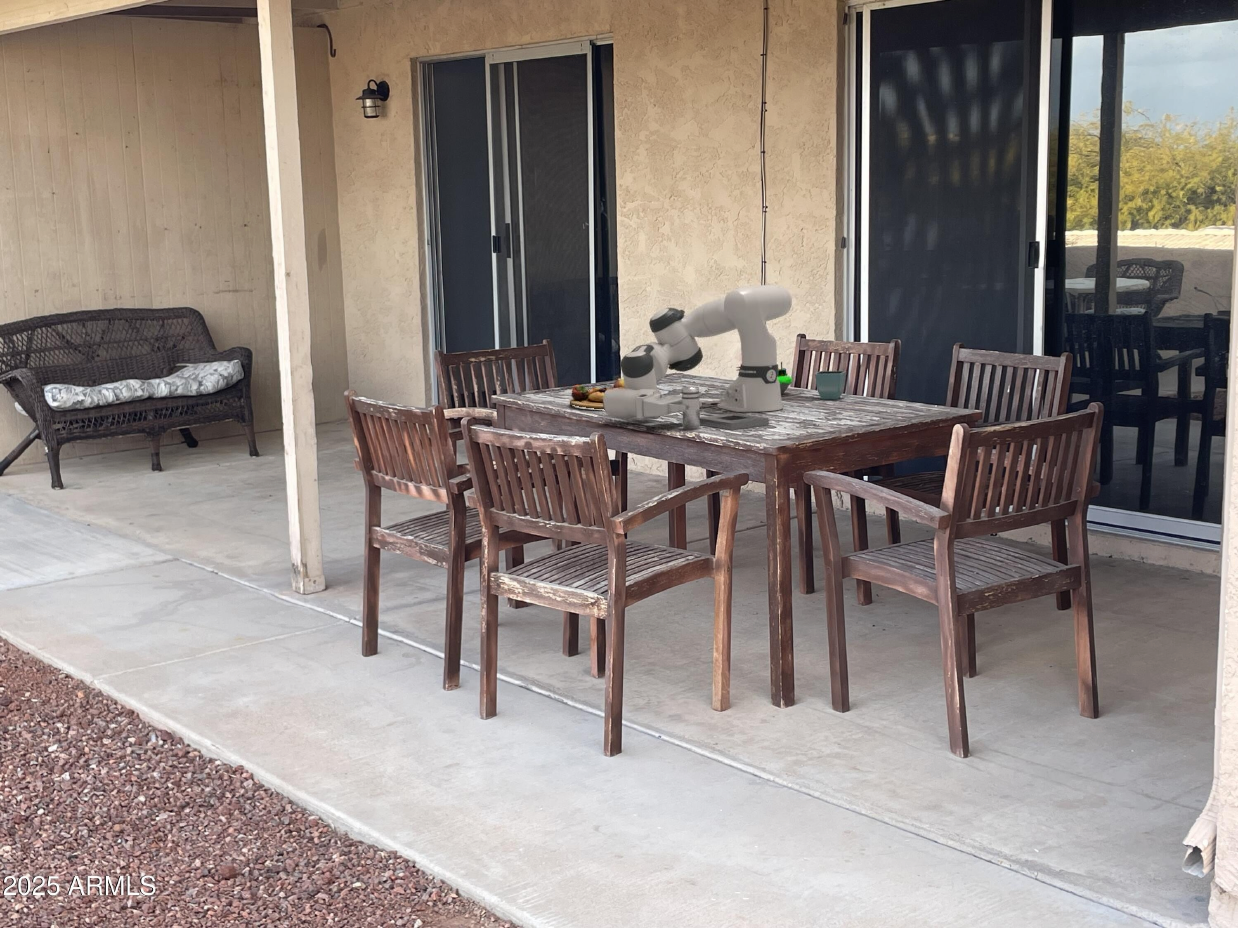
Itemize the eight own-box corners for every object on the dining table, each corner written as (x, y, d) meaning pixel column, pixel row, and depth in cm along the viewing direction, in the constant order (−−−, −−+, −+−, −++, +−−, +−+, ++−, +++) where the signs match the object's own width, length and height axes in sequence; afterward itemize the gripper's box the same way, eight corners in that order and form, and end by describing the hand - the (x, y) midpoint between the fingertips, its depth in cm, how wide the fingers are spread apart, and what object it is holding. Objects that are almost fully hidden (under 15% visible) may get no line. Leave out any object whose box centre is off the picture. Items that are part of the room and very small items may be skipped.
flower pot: (820, 397, 462) (819, 370, 461) (846, 397, 459) (846, 370, 458) (814, 400, 454) (814, 373, 452) (841, 400, 451) (841, 373, 450)
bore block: (697, 424, 409) (697, 417, 409) (734, 419, 417) (734, 413, 416) (731, 430, 396) (731, 423, 396) (768, 424, 404) (768, 418, 403)
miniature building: (773, 392, 482) (772, 360, 481) (798, 393, 474) (798, 361, 472) (749, 395, 474) (749, 363, 473) (775, 397, 466) (774, 364, 464)
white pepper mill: (679, 428, 402) (677, 387, 400) (693, 426, 405) (692, 386, 403) (689, 430, 398) (688, 388, 396) (704, 428, 401) (702, 387, 399)
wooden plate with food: (558, 412, 449) (557, 387, 448) (583, 398, 480) (583, 375, 478) (654, 414, 442) (653, 388, 440) (673, 400, 472) (673, 376, 471)
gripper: (668, 410, 417) (709, 412, 409) (634, 419, 399) (676, 421, 392) (668, 389, 415) (709, 391, 408) (634, 397, 398) (676, 399, 391)
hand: (692, 406), depth 400 cm, fingers open, 8 cm apart
